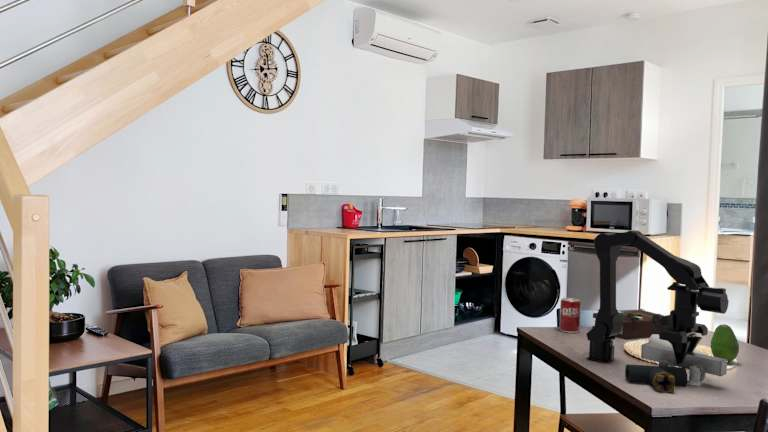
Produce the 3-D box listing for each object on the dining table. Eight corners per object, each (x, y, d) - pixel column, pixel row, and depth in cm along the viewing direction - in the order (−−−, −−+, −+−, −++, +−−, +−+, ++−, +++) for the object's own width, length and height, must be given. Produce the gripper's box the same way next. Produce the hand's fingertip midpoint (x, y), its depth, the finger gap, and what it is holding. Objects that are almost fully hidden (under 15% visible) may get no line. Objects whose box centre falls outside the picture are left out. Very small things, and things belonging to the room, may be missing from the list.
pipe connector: (697, 376, 162) (637, 372, 164) (696, 396, 162) (636, 392, 164) (681, 365, 173) (625, 361, 175) (680, 384, 174) (624, 380, 175)
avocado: (704, 359, 199) (706, 322, 199) (725, 358, 201) (727, 321, 200) (722, 366, 191) (724, 327, 191) (744, 365, 193) (746, 327, 193)
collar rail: (657, 378, 176) (658, 359, 176) (664, 372, 183) (665, 354, 182) (699, 386, 170) (700, 367, 169) (706, 380, 176) (707, 361, 176)
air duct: (726, 373, 169) (727, 358, 169) (720, 376, 167) (721, 361, 166) (647, 355, 186) (647, 342, 185) (640, 358, 183) (641, 344, 183)
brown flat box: (684, 316, 232) (624, 321, 220) (683, 336, 233) (623, 342, 221) (644, 307, 250) (586, 310, 238) (643, 325, 250) (585, 330, 238)
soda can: (581, 333, 230) (583, 301, 230) (562, 333, 230) (563, 300, 230) (576, 329, 237) (577, 298, 237) (557, 328, 238) (558, 297, 237)
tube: (717, 356, 188) (664, 336, 212) (703, 351, 187) (651, 331, 211) (711, 373, 188) (658, 351, 212) (697, 368, 187) (645, 346, 211)
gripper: (670, 300, 188) (667, 351, 188) (642, 306, 175) (639, 361, 176) (709, 306, 179) (706, 359, 180) (682, 313, 167) (679, 370, 167)
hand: (682, 362), depth 176 cm, fingers closed on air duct, 4 cm apart
